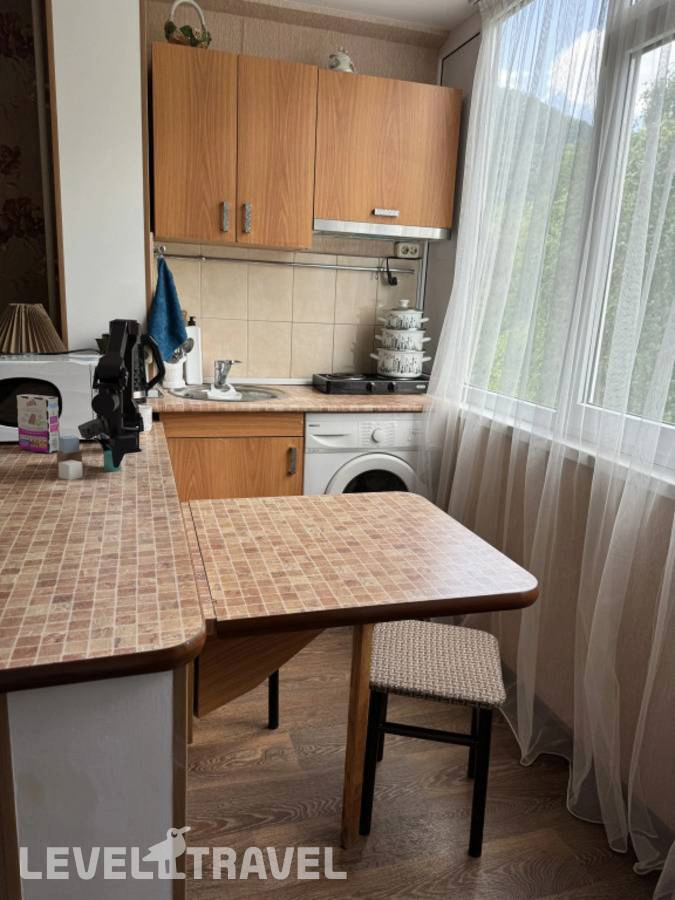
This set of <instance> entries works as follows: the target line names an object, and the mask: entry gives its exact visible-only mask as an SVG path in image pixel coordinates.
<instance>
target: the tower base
mask: <svg viewBox="0 0 675 900" xmlns="http://www.w3.org/2000/svg"><path fill="white" fill-rule="evenodd" d="M68 460H75V461H79V462H82V463H83V452H82V451H80V450H79V452H75V453H65V454H64V453H63V452H61V451H59V450H57V452H56V465H58V463H59V462H63V461H68Z"/></svg>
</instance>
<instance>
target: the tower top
mask: <svg viewBox="0 0 675 900" xmlns="http://www.w3.org/2000/svg"><path fill="white" fill-rule="evenodd" d="M59 451H61V452H63V453H64V454H65V453H75V452H79V451H80V437H78V436H76V435H73V434H72V435H69V434H68V435H60V436H59Z"/></svg>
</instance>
